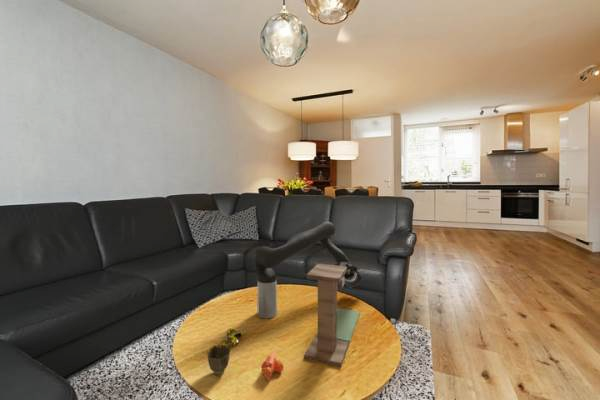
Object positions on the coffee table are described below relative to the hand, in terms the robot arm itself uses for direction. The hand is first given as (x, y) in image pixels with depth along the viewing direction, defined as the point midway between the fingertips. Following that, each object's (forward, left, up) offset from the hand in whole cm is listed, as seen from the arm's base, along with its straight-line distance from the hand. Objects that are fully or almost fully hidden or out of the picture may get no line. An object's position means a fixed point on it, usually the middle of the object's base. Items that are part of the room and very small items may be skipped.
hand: (342, 265), depth 133 cm
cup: (-55, -24, -26) cm, 66 cm away
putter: (-4, -6, -3) cm, 8 cm away
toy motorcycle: (-51, -6, -26) cm, 57 cm away
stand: (-15, -22, -26) cm, 38 cm away
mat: (-3, -4, -26) cm, 26 cm away
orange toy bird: (-37, -28, -26) cm, 54 cm away
